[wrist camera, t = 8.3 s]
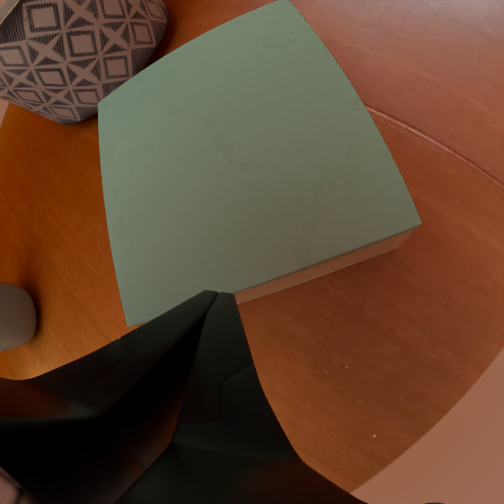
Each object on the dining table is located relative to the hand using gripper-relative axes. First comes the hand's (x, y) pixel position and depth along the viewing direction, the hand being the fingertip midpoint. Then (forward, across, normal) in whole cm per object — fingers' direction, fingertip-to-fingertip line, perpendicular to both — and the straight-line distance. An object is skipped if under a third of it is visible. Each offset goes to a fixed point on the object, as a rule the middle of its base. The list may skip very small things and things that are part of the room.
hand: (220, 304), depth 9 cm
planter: (+26, +20, -12) cm, 35 cm away
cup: (+12, +26, +15) cm, 33 cm away
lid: (+7, +2, -4) cm, 9 cm away
